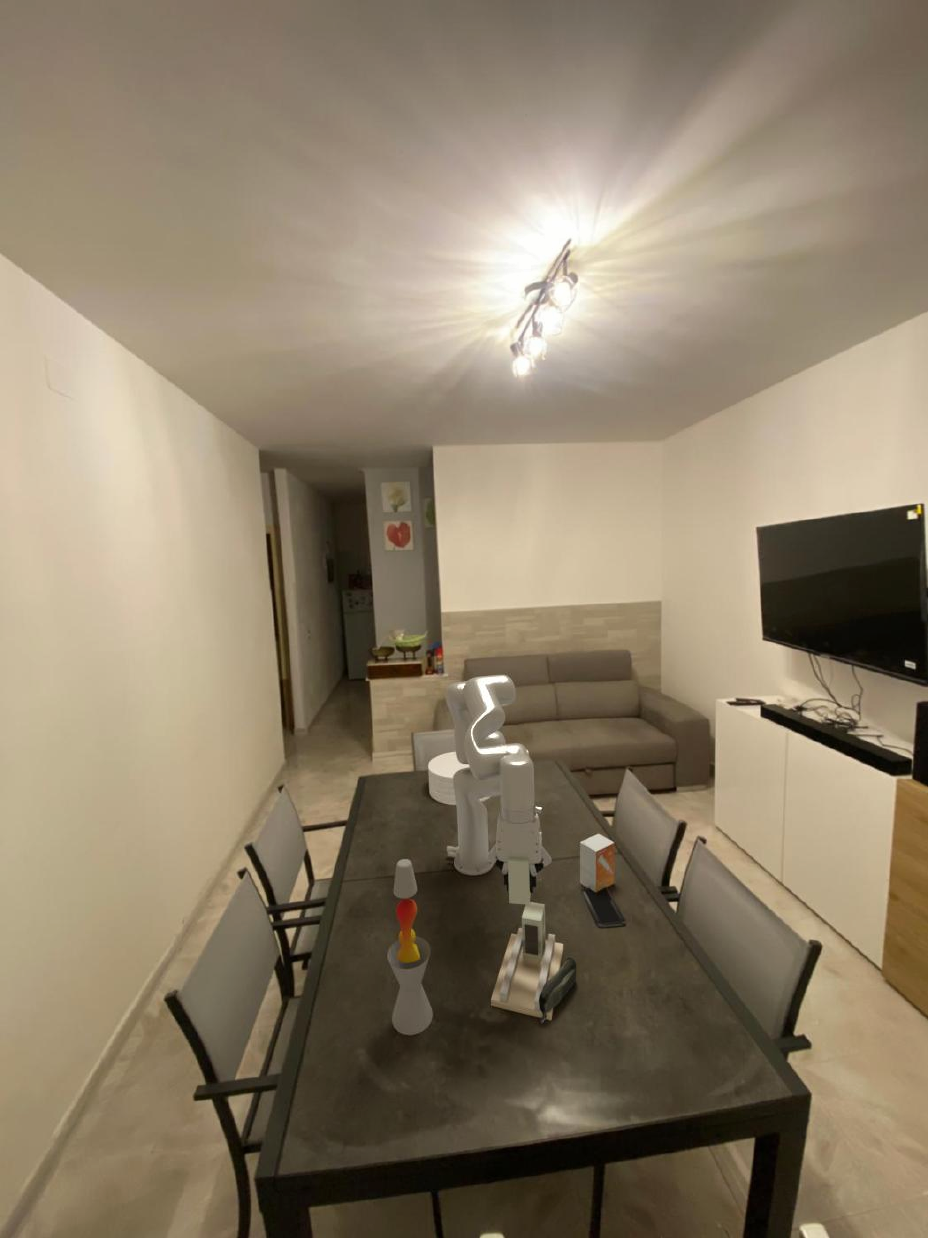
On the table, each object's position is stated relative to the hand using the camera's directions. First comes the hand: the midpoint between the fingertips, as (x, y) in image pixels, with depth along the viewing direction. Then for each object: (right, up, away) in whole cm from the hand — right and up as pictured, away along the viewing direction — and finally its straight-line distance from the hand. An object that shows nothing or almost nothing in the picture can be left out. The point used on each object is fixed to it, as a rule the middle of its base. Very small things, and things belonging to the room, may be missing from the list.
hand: (520, 887), depth 114 cm
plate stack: (-13, -12, +99) cm, 100 cm away
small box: (+27, -17, +34) cm, 47 cm away
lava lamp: (-24, -24, -6) cm, 34 cm away
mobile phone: (+7, -22, -4) cm, 24 cm away
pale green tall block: (0, -2, 0) cm, 2 cm away
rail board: (+2, -22, +3) cm, 22 cm away
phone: (+25, -19, +24) cm, 40 cm away
